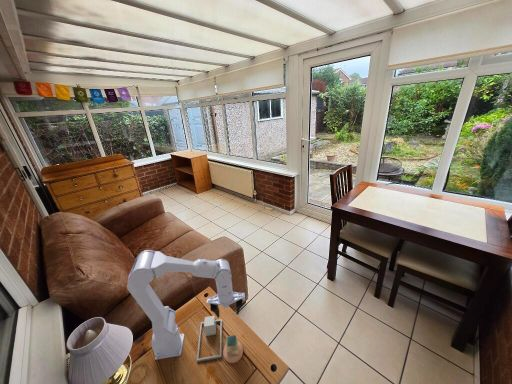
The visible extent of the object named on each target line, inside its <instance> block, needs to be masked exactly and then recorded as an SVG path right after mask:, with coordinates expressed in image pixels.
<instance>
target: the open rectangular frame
mask: <svg viewBox="0 0 512 384" xmlns="http://www.w3.org/2000/svg"><path fill="white" fill-rule="evenodd" d="M215 321H216V324H217V323H220V332H219V334H220V335H219V339H220V340H219V354H217V355H212V356H205V357H200V350H201V342H202V341H201V340H202V329H203V326H204V321H202V322H200V328H199V335H198V345H197V355H196V362H197V363H201V362H205V361H210V360H215V359H222V353H223V350H222V347H223V342H222V341H223V335H222V334H223V319H222V318H220V319H215Z"/></svg>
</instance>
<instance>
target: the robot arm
mask: <svg viewBox="0 0 512 384" xmlns="http://www.w3.org/2000/svg"><path fill="white" fill-rule="evenodd" d="M133 262H134V263H133V265H132V268H131V270H130V272H129V274H128V278H127V285H126V290H127V291H128V292H129V293H130V294H131V296H132V297H133V298H134V300H135V301H136V303H137V304H138V305H139V306H140V308H141V309H142V310H143V312H144V313H145V314H146V316H147V318H148V319H149V320H150V321H151V325H152V326H151V327H152V337H151V348H152V351H153V353H154V359H155V360H156V361H157V360H161V359H162V360H163V359H167V358H173V357H178V356H180V357H181V355H182V350H183V345H184V339H185V333H180V331H179V328H178V327H179V326H178V323H176V321H175V320H176V315H177V313H176V310H174V309H172V308H171V307H170V306H168V305H166V306H164V305H163V302H162V301H161V300H160V298H159V297H158V295H157V294H156V292H155V291H154V289H153V288H152V287H151V285H150V283H151V282H153V280H154V278H155V279H156V280H157V279H159V278H160V277H162V276H163V275H164V274H165V273H166V272H180V273H192V275H193V276H194V277H199V278H204V279H205V278H206V279H214V280H215V284H216V291H217V294H215V295H213V296H211V297H207V299H206V305H207V307H210V309H209V310H210V311H211V312H213V313H214V314H215V315H216V317H217V318H220V309H219V308H220V307H219V306H222V307H223V309H228V308H230V307H229V306H230V305H232V304H234V303H235V307H236V308H235V309H236V315H239V312H240V310H241V308H242V307H243V304H244V303H243V302H245V301H246V296H245V295H246V294H245V292H236V291H233V281H232V276H233V275H232V271H231V268H230V267H231V266H230V263H229V261H228V260H227V259H224V258H219V259H217V260H209V259H206V258H203V259H201V258H197V259H196V260H195V261H192V260H187V259H181V258H179V257H173V256H169V255H166V254H164V253H162V251H158V250H157V251H156V250H152V249H145V250H143V251H141V252H140V253H138V255H137V256H136V258H135V260H134V261H133Z"/></svg>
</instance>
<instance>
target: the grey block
mask: <svg viewBox="0 0 512 384" xmlns="http://www.w3.org/2000/svg"><path fill="white" fill-rule="evenodd" d="M215 320H216V317H215V315H209V316H205V317H204V321H203V322H204V325H203V328H204V333H205V336H206V337H208V336H214V335H216V334H217V323H216V321H215Z"/></svg>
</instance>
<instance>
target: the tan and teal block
mask: <svg viewBox="0 0 512 384" xmlns="http://www.w3.org/2000/svg"><path fill="white" fill-rule="evenodd" d="M225 340H226V341H225V342H226V343H225V345H226V349H227V355H228V357H233V356H239V354H238V341H239V340H238V334H233V335H232V334H231V335H226V339H225Z"/></svg>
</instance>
